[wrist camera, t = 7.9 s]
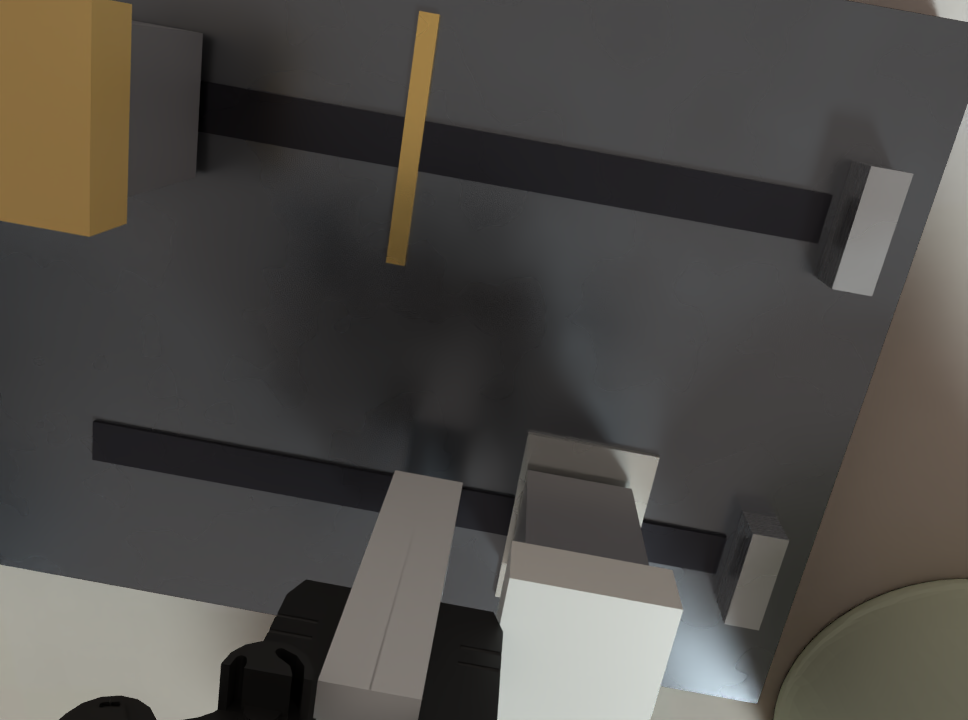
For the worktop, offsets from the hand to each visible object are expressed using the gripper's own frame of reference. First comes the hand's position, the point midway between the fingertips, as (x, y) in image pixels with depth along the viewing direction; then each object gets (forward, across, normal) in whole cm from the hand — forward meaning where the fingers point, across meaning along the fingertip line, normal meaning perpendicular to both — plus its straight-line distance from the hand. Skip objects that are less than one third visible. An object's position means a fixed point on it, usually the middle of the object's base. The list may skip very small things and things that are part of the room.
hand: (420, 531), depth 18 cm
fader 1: (+1, -7, +8) cm, 11 cm away
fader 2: (+1, +3, 0) cm, 3 cm away
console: (+3, -2, +4) cm, 6 cm away
